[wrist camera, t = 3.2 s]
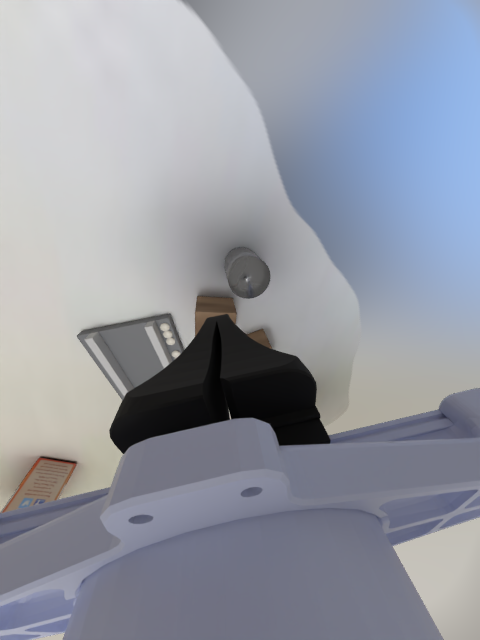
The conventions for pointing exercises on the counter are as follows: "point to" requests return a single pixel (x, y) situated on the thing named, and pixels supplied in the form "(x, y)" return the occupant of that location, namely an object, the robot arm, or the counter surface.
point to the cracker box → (41, 484)
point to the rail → (133, 350)
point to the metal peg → (246, 273)
